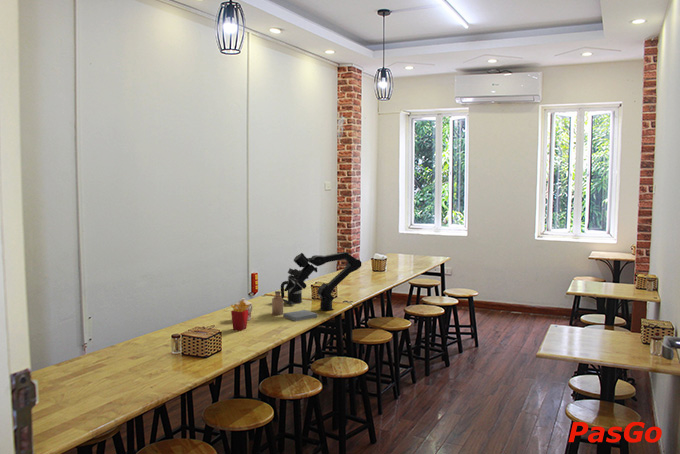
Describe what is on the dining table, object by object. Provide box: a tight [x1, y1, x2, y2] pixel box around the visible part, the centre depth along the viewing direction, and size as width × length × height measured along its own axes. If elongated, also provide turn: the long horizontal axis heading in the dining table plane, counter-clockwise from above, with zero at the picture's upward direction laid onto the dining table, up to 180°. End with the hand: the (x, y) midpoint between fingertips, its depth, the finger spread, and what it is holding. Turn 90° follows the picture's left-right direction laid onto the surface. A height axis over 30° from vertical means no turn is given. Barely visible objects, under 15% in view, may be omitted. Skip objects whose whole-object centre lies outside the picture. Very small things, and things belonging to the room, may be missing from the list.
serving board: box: [282, 309, 318, 322], centre depth 310 cm, size 15×12×2 cm
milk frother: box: [280, 280, 303, 306], centre depth 344 cm, size 14×16×15 cm
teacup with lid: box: [235, 297, 253, 322], centre depth 303 cm, size 12×9×12 cm
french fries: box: [230, 301, 250, 332], centre depth 282 cm, size 9×8×15 cm
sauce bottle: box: [271, 290, 284, 316], centre depth 316 cm, size 6×6×13 cm
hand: (287, 292), depth 318 cm, fingers open, 9 cm apart
